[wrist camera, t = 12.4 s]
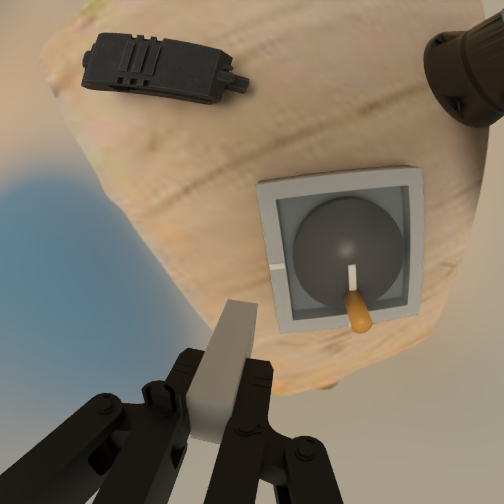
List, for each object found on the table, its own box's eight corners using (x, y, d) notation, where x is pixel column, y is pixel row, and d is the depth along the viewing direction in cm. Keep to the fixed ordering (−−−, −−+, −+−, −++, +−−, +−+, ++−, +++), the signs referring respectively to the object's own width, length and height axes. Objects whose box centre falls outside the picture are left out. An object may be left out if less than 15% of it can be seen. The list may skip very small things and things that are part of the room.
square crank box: (407, 165, 32) (422, 167, 28) (408, 299, 38) (419, 315, 34) (259, 181, 36) (254, 185, 31) (281, 316, 42) (279, 334, 38)
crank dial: (285, 204, 34) (283, 220, 26) (395, 191, 31) (423, 203, 23) (299, 305, 38) (300, 343, 30) (397, 291, 36) (417, 325, 28)
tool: (106, 57, 29) (83, 27, 16) (230, 77, 37) (266, 57, 24) (96, 96, 31) (66, 82, 19) (220, 113, 39) (252, 109, 26)
